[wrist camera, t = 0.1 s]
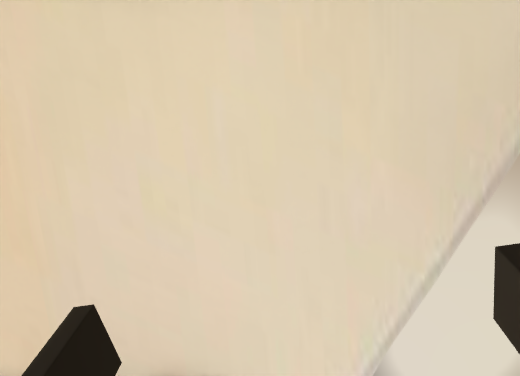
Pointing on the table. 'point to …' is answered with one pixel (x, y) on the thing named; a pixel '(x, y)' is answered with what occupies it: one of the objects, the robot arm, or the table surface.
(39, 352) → the robot arm
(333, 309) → the table surface
